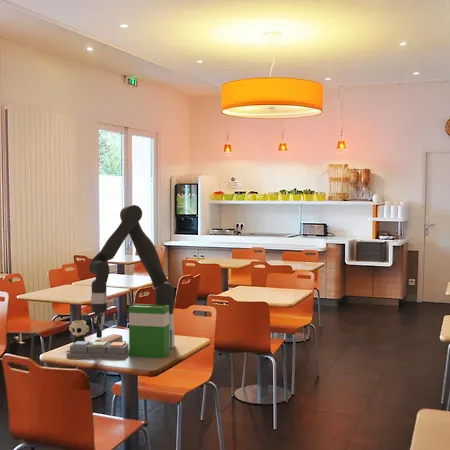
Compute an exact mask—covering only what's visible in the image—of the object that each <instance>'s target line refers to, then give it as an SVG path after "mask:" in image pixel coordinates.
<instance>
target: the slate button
mask: <svg viewBox="0 0 450 450" xmlns="http://www.w3.org/2000/svg"><path fill="white" fill-rule="evenodd" d="M89 342H90V341H88V340H85V341H77V342H75V343H74V344H73V343H72V344H73V346H87V345H88V344H89Z"/></svg>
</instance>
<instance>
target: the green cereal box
mask: <svg viewBox="0 0 450 450" xmlns="http://www.w3.org/2000/svg"><path fill="white" fill-rule="evenodd" d="M128 343H129V355H128V357H137V358H149V359H151V358H152V359H166V358H167V357H168V356H169V355H170V348H169V305H156V304H152V303H151V304H147V303H146V304H145V303H134V304H133V305H129V306H128Z"/></svg>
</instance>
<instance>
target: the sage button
mask: <svg viewBox="0 0 450 450" xmlns="http://www.w3.org/2000/svg"><path fill="white" fill-rule="evenodd" d="M106 345H107V342H95V341H94V342H93V344H91V346H97V347H104V346H106Z"/></svg>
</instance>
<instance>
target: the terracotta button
mask: <svg viewBox="0 0 450 450" xmlns="http://www.w3.org/2000/svg"><path fill="white" fill-rule="evenodd" d="M123 346H125V342H113V343H112V344H110V347H123Z"/></svg>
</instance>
